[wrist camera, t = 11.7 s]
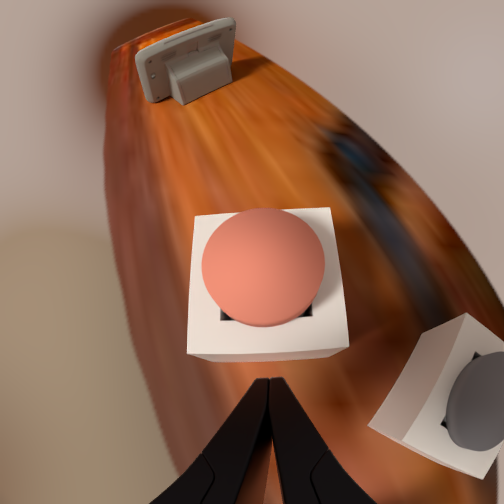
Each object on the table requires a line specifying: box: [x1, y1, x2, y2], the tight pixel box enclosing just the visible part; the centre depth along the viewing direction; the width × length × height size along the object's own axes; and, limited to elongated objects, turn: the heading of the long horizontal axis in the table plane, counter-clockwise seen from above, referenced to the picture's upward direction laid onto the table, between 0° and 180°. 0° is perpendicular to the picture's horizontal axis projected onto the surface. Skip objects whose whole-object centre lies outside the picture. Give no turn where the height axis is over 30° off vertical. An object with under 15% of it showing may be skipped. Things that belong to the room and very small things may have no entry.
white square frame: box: [187, 207, 349, 362], centre depth 20 cm, size 9×9×7 cm
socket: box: [367, 312, 504, 479], centre depth 14 cm, size 9×9×7 cm
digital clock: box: [135, 18, 236, 105], centre depth 34 cm, size 16×9×11 cm, turn 116°
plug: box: [440, 351, 504, 452], centre depth 13 cm, size 6×6×8 cm
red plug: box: [201, 208, 325, 327], centre depth 18 cm, size 6×6×8 cm
